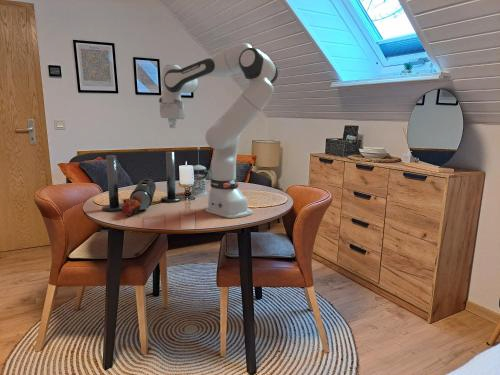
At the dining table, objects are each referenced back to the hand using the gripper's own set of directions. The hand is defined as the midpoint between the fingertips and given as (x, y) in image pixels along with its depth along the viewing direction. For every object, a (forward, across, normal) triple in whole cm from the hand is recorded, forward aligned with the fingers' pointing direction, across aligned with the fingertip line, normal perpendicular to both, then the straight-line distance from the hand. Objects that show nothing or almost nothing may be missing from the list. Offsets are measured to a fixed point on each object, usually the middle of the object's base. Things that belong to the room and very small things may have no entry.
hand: (172, 128), depth 179 cm
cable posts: (+35, -7, +19) cm, 40 cm away
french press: (+35, -1, -15) cm, 38 cm away
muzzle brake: (+36, -7, +19) cm, 41 cm away
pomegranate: (+35, -21, +30) cm, 51 cm away
